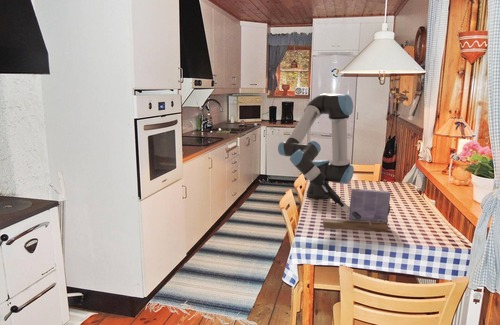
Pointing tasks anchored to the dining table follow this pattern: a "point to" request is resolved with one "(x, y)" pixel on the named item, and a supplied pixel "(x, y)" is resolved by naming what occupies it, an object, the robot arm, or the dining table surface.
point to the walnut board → (355, 225)
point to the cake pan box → (369, 205)
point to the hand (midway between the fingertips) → (347, 210)
